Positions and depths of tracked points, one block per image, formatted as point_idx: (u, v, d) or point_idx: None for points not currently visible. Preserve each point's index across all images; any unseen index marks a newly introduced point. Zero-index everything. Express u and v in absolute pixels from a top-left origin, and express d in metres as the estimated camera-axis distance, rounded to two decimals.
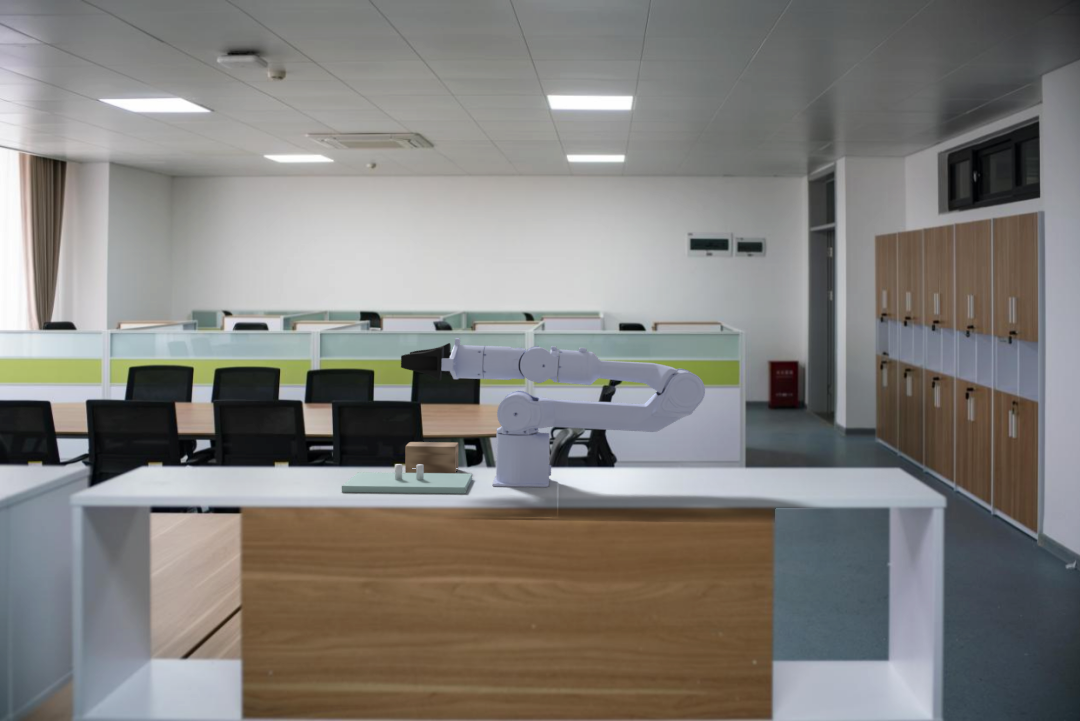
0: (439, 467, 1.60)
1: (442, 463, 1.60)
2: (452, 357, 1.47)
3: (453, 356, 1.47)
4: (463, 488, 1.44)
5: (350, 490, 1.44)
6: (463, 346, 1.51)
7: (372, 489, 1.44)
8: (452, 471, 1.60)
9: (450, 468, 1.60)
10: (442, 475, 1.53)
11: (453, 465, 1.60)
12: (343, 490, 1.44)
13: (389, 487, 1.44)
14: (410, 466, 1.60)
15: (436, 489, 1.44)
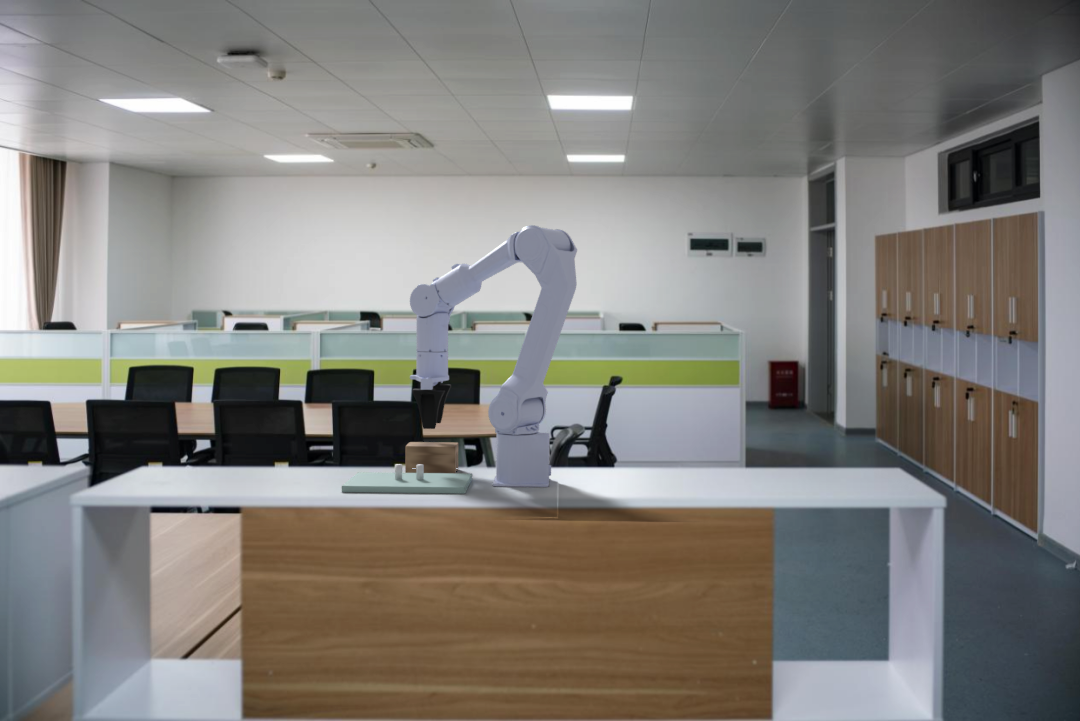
0: (439, 467, 1.60)
1: (442, 463, 1.60)
2: None
3: (420, 379, 1.56)
4: (463, 488, 1.44)
5: (350, 490, 1.44)
6: None
7: (372, 489, 1.44)
8: (452, 471, 1.60)
9: (450, 468, 1.60)
10: (442, 475, 1.53)
11: (453, 465, 1.60)
12: (343, 490, 1.44)
13: (389, 487, 1.44)
14: (410, 466, 1.60)
15: (436, 489, 1.44)
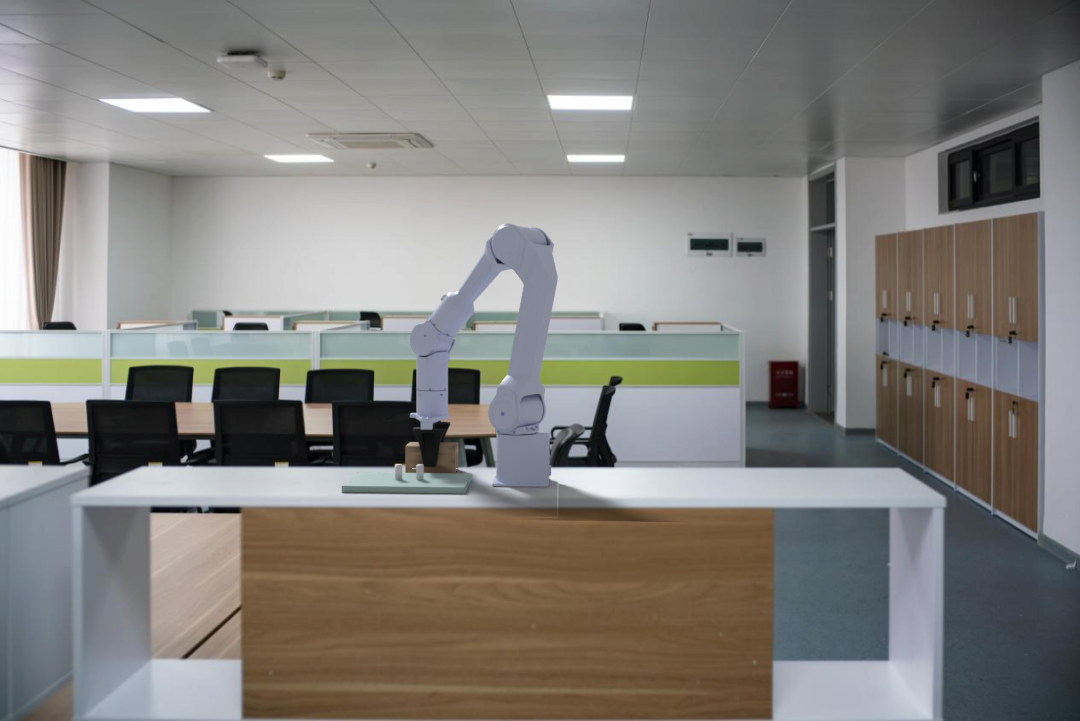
0: (439, 467, 1.60)
1: (442, 463, 1.60)
2: None
3: (420, 418, 1.57)
4: (463, 488, 1.44)
5: (350, 490, 1.44)
6: None
7: (372, 489, 1.44)
8: (452, 471, 1.60)
9: (450, 468, 1.60)
10: (442, 475, 1.53)
11: (453, 465, 1.60)
12: (343, 490, 1.44)
13: (389, 487, 1.44)
14: (410, 466, 1.60)
15: (436, 489, 1.44)
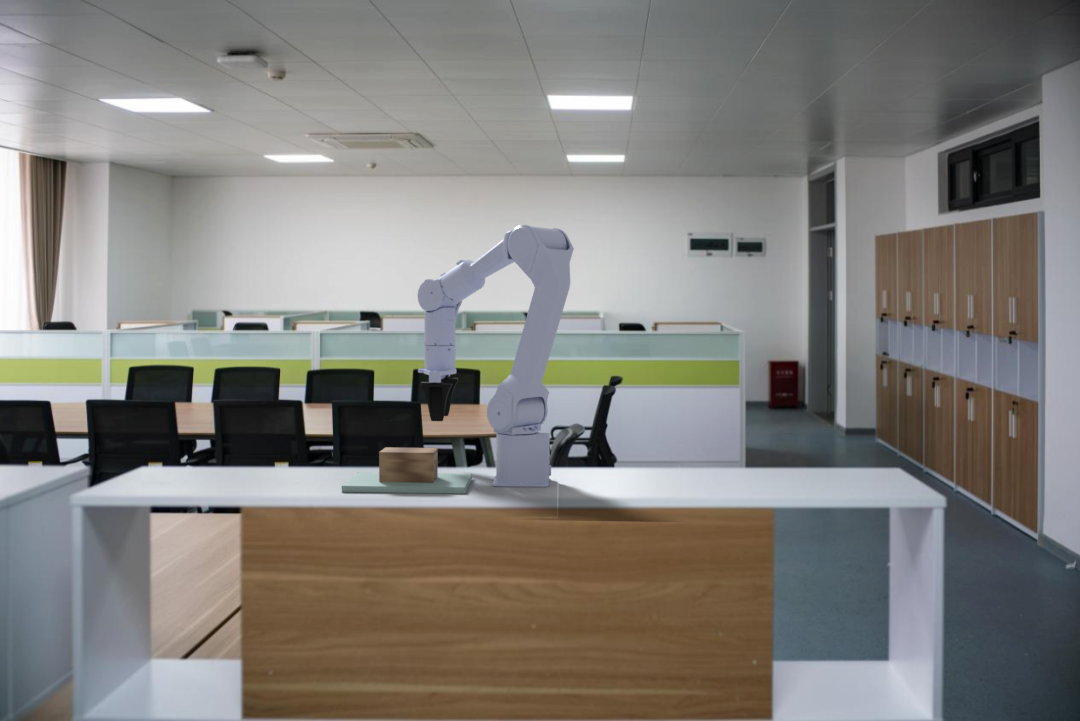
0: (416, 475, 1.47)
1: (419, 471, 1.47)
2: (429, 372, 1.59)
3: (428, 372, 1.59)
4: (463, 488, 1.44)
5: (350, 490, 1.44)
6: None
7: (372, 489, 1.44)
8: (430, 479, 1.47)
9: (428, 476, 1.47)
10: (442, 475, 1.53)
11: (431, 473, 1.47)
12: (343, 490, 1.44)
13: (389, 487, 1.44)
14: (384, 473, 1.47)
15: (436, 489, 1.44)
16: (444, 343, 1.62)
